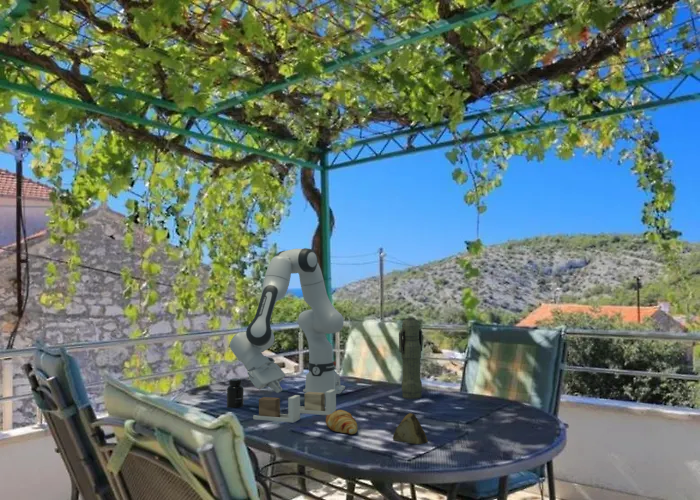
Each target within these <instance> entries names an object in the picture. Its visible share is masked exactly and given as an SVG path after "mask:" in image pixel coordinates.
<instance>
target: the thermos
mask: <svg viewBox="0 0 700 500" xmlns="http://www.w3.org/2000/svg"><path fill="white" fill-rule="evenodd" d="M423 345H424V344H423V330H422V328H420V325H419V321H418V319H416V318H412V317H411V318H404V319H403V320H402V324H401V329H400V330H399V332H398V352H399V353H401V355H400V357H401V359H402V380H401V393H402V397H401V398H402V399H406V400H408V399H410V400H414V399H415V400H416V399H421V398H422V397H423V396H422V392H423V383H422V379H421V358H422V352H423V348H424V347H423Z"/></svg>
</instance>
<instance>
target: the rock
mask: <svg viewBox="0 0 700 500" xmlns="http://www.w3.org/2000/svg"><path fill="white" fill-rule="evenodd" d="M392 440H393V441H396V442H402V443H408V444H416V445H422V444H423V443H424V444H427V443H426V442H428V443H429V441H428V437H427V435H426V432H425V430H424V429H423V426H422V424H421V423H420V421H419V419H418V417H416V415H415V414H414V413H411V412H409V413H408V414H406V415H405V416H404V417H403V419H402V420H401V421H400V423H399V424H398V425H397V427H396V428H395V431H394V433H393V435H392Z"/></svg>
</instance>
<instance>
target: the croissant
mask: <svg viewBox="0 0 700 500" xmlns="http://www.w3.org/2000/svg"><path fill="white" fill-rule="evenodd" d="M325 424H326V426H327V427H328V429H329V430H331V431H333V432H337V433H342V434H348V435H355V434H356V433H357V432H358V422H357V421H356V418H354V416H352V413H351V412H348V411H346V410H343V409H336V411H335V412H333V413H332V414H329V415H325Z"/></svg>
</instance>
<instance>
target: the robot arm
mask: <svg viewBox="0 0 700 500" xmlns="http://www.w3.org/2000/svg"><path fill="white" fill-rule="evenodd" d="M292 274H298V275H299V276H298V277H299V283H300V288H301V293H302V297H303V301H304V302H305V303H306V304H307V305H308V306H309V307H310V308H311V309H306V310H303V311H302V312H301V313H299V316H298V319H297V324H298V327H299V328H300V329H301V330H302V332H303V333H304V335H305V338H306V341H307V345H308V354H309V355H308V356H309V357H308V358H309V359H308V360H309V362H308V366H307V367H308V368H307V369H308V372H307V373H306V376H305V387H304V388H303V389H302V392H303V393H307V392H319V393H325V392H327V391H329V390H331V389H333V390H336V395H340V394H342V392H343V391H344V390H345V389H346V386H345V385H341V376H340V375H339V374H338V373H337V371H336V370H335V367H336V366H337V362H336V361H333V358H334V355H333V345H332V343H331V342H330V341H329V340H328V338H327V336H326V334H328V335H329V334H336V333H339V332H340V331H341V330H342V329H343V326H344V323H345V320H344V316H343V315H342V314H341V312H339V311H338V310H337V309H336V308H335V307H334V306H333V304H332V302H331V300H330V298H329V295H328V293H327V290H326V286H325V285H326V284H325V281H324V276H323V273H322V269H321V267H320V264H319V262H318V255H317V253H316V252H315V250H313V249H311V248H307V247H305V248H293V249H289V250H288V249H287V250H282V251H279V252H277V253H276V254H275V256H273V257H272V258H271V260H270V262H269V263H268V266H267V269H266V272H265V274H264V277H263V278H264V279H263V283H262V288H261V289H262V290H261V291H262V292H261V294H260V295H261V297H260V300H259V303H258V306H257V309H256V313H255V315H254V318H253V319H252V320H251V322H250V323H249V325H248V326H247V327H246V331H243V332H242V331H241V332H240V331H239V332H237V333H235V335H233V337H232V338H231V339H230V342H229V348H230V350H231V352H232V353H233V355H234V356H235V357H236V359H237V360H238V361H240V362H241V363H242V364H243V366H244V368H245V369H246V371H247V375H248V378H249V380H250V382H251V383H252V385H253V386H254V387H255V388H256V389H257V390H261V389H264V388H267V387H269V389H271V390H273V392H275V393H276V394H278V393H281V392H282V391H283V388H282V386H281V384H280V382H282V380H283V379H285V378H286V375H285V372H284V370H282V368H281V367H280V366H279V364H277V363H276V362H275V361H276V360H275V359H274V358H273V357H268V356H266V355H264V352H266V351H267V350H268V349H270V348H271V347H272V346H273V345H274V343H275V334H274V332H273V331H272V328H271V327H272V326H271V319H272V315H273V311H274V308H275V305H276V303H277V302H278V301H280V300H281V299H283V298H285V296H286V294H287V292H288V289H289V287H290V281H291V278H292V277H291V276H292Z"/></svg>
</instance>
